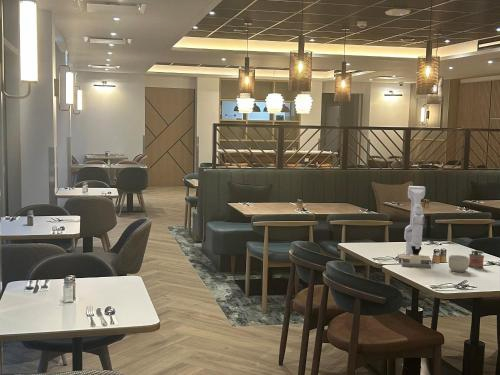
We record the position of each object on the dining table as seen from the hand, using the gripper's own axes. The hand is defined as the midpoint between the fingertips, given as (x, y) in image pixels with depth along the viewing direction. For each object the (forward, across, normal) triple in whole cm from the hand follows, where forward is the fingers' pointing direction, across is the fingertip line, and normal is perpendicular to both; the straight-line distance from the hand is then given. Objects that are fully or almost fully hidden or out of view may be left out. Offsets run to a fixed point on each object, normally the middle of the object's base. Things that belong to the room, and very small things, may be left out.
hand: (415, 258), depth 349 cm
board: (+3, -8, 0) cm, 8 cm away
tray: (+3, +4, 0) cm, 5 cm away
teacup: (+3, +8, +22) cm, 24 cm away
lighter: (+3, -3, +34) cm, 34 cm away
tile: (0, +1, 0) cm, 1 cm away
